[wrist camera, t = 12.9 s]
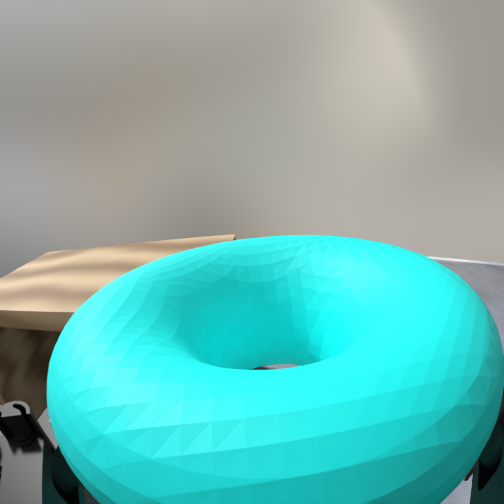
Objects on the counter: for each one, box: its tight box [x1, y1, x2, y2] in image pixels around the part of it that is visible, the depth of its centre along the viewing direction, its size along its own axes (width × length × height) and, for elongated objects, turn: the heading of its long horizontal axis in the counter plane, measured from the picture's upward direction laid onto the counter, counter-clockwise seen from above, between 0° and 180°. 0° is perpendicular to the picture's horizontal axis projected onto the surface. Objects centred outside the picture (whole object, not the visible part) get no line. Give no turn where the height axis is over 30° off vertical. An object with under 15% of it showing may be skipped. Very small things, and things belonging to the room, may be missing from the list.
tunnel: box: [0, 234, 236, 420], centre depth 29 cm, size 18×25×16 cm
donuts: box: [47, 235, 504, 504], centre depth 8 cm, size 10×10×10 cm
